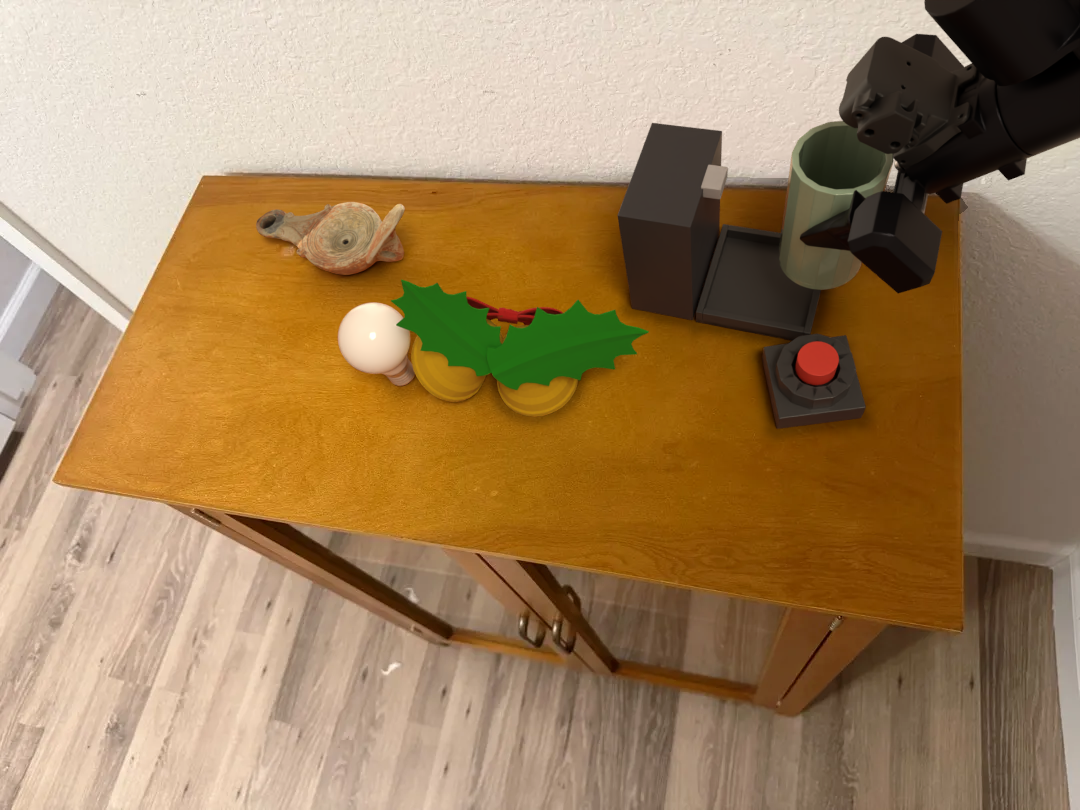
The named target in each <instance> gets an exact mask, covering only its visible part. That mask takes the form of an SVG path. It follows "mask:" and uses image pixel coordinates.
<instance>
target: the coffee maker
mask: <svg viewBox="0 0 1080 810" xmlns="http://www.w3.org/2000/svg"><path fill="white" fill-rule="evenodd" d="M722 141H723V131H722V130H719V129H718V130H717V129H708V128H700V127H691V126H683V125H675V124H666V123H657V122H651V124H650V127H649V130H648V132H647V135H646V138H645V140H644V143H643V146H642V148H641V152H640V154H639V156H638V159H637V162H636V164H635V167H634V170H633V173H632V176H631V178H630V181H629V182H628V183H629V184H628V186H627V189H626V191H625V194H624V197H623V199H622V203H621V204H620V208H619V210H618V213H617V222H618V228H619V235H620V240H621V248H622V254H623V260H624V267H625V272H626V279H627V285H628V292H629V299H630V305H631V309H632V310H637V311H644V312H649V313H653V314H659V315H664V316H669V317H673V318H679V319H683V320H684V319H685V320H688V321H689V320H690V321H694V319H695V322H696V323H701V324H705V325H711V326H715V327H720V328H725V329H731V330H736V331H741V332H746V333H752V334H755V335H756V334H757V335H761V336H766V337H771V338H777V339H782V340H787V341H793V340H794V339H796V338H797V337H798V336H805V335H811V333H812V329H813V324H814V320H815V316H816V313H817V309H818V305H819V300H820V296H821V292H822V290H817V289H810V288H806V287H803V286H800V285H798V284H796V283H795V282H793V281H792V280H791V279H789V278H788V277H787V276H786V274H785V273H784V272H783V270H782V268H781V266H780V263H779V243H780V236H781V232H777V231H772V230H771V231H770V230H764V229H758V228H753V227H752V228H750V227H745V226H739V225H732V224H725V223H723V224H722V226H721V229H720V224H721V223H720V221H721V200H722V197H723V192H724V189H725V186H726V183H727V181H728V176H729V175H728V174H729V173H728V172H729V168H728V166H722V154H723V153H722V151H723V149H722V148H723V146H722V145H723V142H722Z"/></svg>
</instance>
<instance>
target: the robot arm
mask: <svg viewBox="0 0 1080 810" xmlns="http://www.w3.org/2000/svg"><path fill="white" fill-rule="evenodd" d="M923 3H924V10H925V11H926V12H927V14H928V15H929V16H930V17H931V19H933V21H934V22H935V23H936V24H937V25H938V26H939V27H940V28H941V30H942V31H943V32H944V33H945V34H946V35H947V37H949V39H950V40H951V41H952V42H953V43H954V45H956V47H957V48H958V49H959V50H960V51H961V52H962V54H963V55H964V56H965V57H966V59H968V60H969V62H970V63H969V64H967V65H965V66H964V65H963V64H962V62H960V60H959V59H958V58H957V57H956V56H955V55H954V53H953V52H952V51H951V50H950V48H948V47H947V45H946V44H945V43H944V42H943V40H941V39H940V38H939V36H938V35H937V34H927V33H915V34H913V35H912V36H909V38H907V39H905V40H903V41H902V42H901V41H899V40H897V39H895V38H892V37H890V36H881V37H879V38H878V39H877V40H876V41H875V42H873V44H872V46H870V47H869V49H868V50H867V51H866V52H865V53H864V55H863V56H862V57H861V58H860V60H859V61H858V62H857V63H856V64H855V65H854V66H853V68H852V69H851V70H850V71H849V72H848V74H847V75H846V80H845V81H846V85H845V88H844V92H843V96H842V99H841V101H840V103H839V106H838V114H839V118H840V119H841V121H843V122H845V123H846V124H847V125H849V126H851V127H853V128H858V131H857V138H858V140H859V141H860V142H862V143H864V144H866V145H868V146H870V147H872V148H874V149H877V150H879V151H881V152H883V153H885V154H893V160H894V161H893V166H894V169H896V171H897V173H896V178H895V183H894V187H893V192H892V191H886V190H885V191H880V192H878V193H875V194H873V195H871V196H868V197H867V198H865V197H864V196H862V195H861V194H860V193H859V192H858V191H857V190H855V191H854V193H853V197H852V201H851V204H850V208H849V209H847V210H845V211H843V212H841V213H839V214H837V215H835V216H833V217H831V218H829V219H827V220H825V221H823V222H821V223H819V224H817V225H815V226H813V227H811V228H810V229H808V230H807V231H805V232H803V233H802V234H801V235H800V240H801V241H802V242H803V243H804V244H806V245H807V246H813V247H822V248H830V249H838V250H846V251H851V253H852V254H853V255H854V256H855V257H856V258H857V259H859V260H860V261H861V262H862V264H863V265H864V266H865V267H866V268H868V269H869V270H870V271H871V272H872V273H873V274H874V275H876V276H877V277H878V278H879V279H880V280H881V281H883V282H884V283H885V284H886V285H887V286H888V287H889V288H891V289H892V290H893V291H894V292H895V293H897V294H901V293H906V292H909V291H912V290H916V289H919V288H922V287H924V286H928V285H931V282H932V279H933V278H934V275H935V273H936V268H937V262H938V257H939V252H940V247H941V246H940V245H941V242H942V241H941V240H942V237H943V231H942V230H941V228H939V226H938V225H936V224H935V223H934V222H933V221H932V220H931V218H929V217H928V216H927V215H926V214H925V213H926V207H927V203H928V198H929V195H932V194H936V195H937V196H938V197H939V199H941V200H942V201H943V202H944V204H946V205H947V204H950V203H952V202H955V201H958V200H960V199H962V194H963V193H962V192H963V187H964V184H966V183H968V182H971V181H973V180H977V179H978V178H982V177H983V176H987V175H988V174H991V173H994V172H996V171H998V172H999V173H1001V175H1002V176H1003V177H1004V178H1005V180H1007V181H1008V182H1009V181H1012V180H1013V179H1016V178H1019V177H1021V176H1024V175H1025V174H1026V170H1027V169H1026V167H1027V161H1028V159H1029V158H1032V157H1035V156H1037V155H1040V154H1043V153H1044V152H1048V151H1050V150H1053V149H1055V148H1057V147H1060V146H1063V145H1065V144H1068V143H1070V142H1074V141H1076V140H1079V139H1080V0H924V2H923Z"/></svg>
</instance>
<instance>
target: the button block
mask: <svg viewBox="0 0 1080 810" xmlns="http://www.w3.org/2000/svg"><path fill="white" fill-rule="evenodd" d="M816 341H819V342H825V343H827V344H829V345H831V346H832V347H833V348H834V349H835V350H836V351H837V353H838V356H839V363H838V366H837V369H836V372H835V375H834V377H833V378H832V379H831V380H830V381H829V382H827V383H825V384H822V385H811V384H808V383H805V382H804V381H802V380H801V379H800V378H799V377H798V375H797V373H796V369H795V365H796V361H797V356H798V353H799V351H800V349H801V348H802V347H803V346H804V345H806V344H808V343H810V342H816ZM761 360H762V365H763V370H764V374H765V380H766V384H767V389H768V393H769V398H770V402H771V407H772V412H773V417H774V421H775V425H776V429H779V430H780V429H786V428H793V427H794V428H796V427H801V426H802V427H803V426H810V425H811V426H812V425H817V424H827V423H833V422H841V421H850V420H856V419H861V418H862V417H863V415H864V413H865V411H866V408H867V406H866V402H865V399H864V396H863V392H862V388H861V384H860V381H859V377H858V374H857V367H856V364H855V359H854V356H853V353H852V351H851V348H850V344H849V340H848V337H847V335H846V334H845V335H837V336H831V337H830V336H828V335H824V334H820V333H812V334H811V333H810V335H805V336H798V337H797V338H796V339H794V340H793V341H792V340H790V341H789V342H788V343H782V344H774V345H768V346H763V349H762V357H761Z"/></svg>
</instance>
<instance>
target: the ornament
mask: <svg viewBox="0 0 1080 810" xmlns="http://www.w3.org/2000/svg"><path fill="white" fill-rule="evenodd" d="M400 282H401V286H402V287H401V288H402V291H403V294H402V296H399V297H397V298H395V299H391V300H390V302H391V303H392V304H393V305H395V306H396V307H397V308H398V309H400V311H402V312H403V314H404V316H403V319H402V320H401V321H400V322H398V323H397V324H396V326H399V327H401V328H404V329H407V330H409V331H410V332H412V333H414V334H415V335H416V337H415V338H414V342H413V344H412V347H411V353H410V358H411V360H410V361H411V363H412V366H413V370H414V372H415V377H416V378H417V380H418V381H419V383H420V384H421V386H422V387H423V388H424V389H425V390H426V391H427V392H428V393H429V394H431V395H433V396H434V397H435V398H436V399H437V398H438V399H440V400H442V401H446V402H450V403H458V402H459V403H460V402H464V401H465V400H469V399H470V398H472V397H473V396H475V394H476V393H478V392H479V390H480V389H481V387H482V386H483V384H484V382H485V379H486V377H487V376H488V375H491V374H492V377H493V378H494V379H495V380H496V386H497V391H498V393H499V396H500V398H501V400H502V402H503V403H504V405H506V406H507V408H509V410H511V411H513V412H514V413H516V414H518V415H521V416H524V417H525V416H526V417H535V418H536V417H543V416H547V415H551V414H552V413H555V412H557V411H558V410H560V409H562V408H563V407H564V406H565V405H567V404H568V402H570V400H571V399H572V397H573V395H574V394H575V392H576V390H577V387H578V383H579V381H581V380H582V376H583V374H584V373H586V371H588V370H591V369H596V368H598V369H607V370H608V369H609V370H616V365H615V359H616V358H617V357H620V356H631V355H633V356H634V355H638V353H637V351H636V350H635V348H634V346H633V343H634V341H636V340H637V339H639V338H641V337H642V336H644V335H647V334H649V333H650V332H649V330H647V329H644V328H641V327H639V326H633V325H628V324H626V323H623V322H622V321H621V320H620V318H619V317H618V315H617V310H616V309H612V310H608V311H606V312H602V313H592V312H590V311H588V310H587V308H586V307H585V306H584V304H583V303H582V302H581V301H580V300H579V299H577V300H576V301H575V302H574V303H573V304H572V305H571V306H570V307H569V308H568V309H567V310H565V311H562V310H559V309H557V308H554V307H549V306H540V307H539V306H537V307H531V308H527V309H524V310H519V311H518V310H514V309H511V308H505V307H499V308H497V307H494V306H492V305H490V304H488V303H486V302H484V301H481V300H480V299H476V298H475V297H474V298H473V297H472V296H467V295H468V294H467V292H468V291H467V290H464V291H462V292H458V293H454V294H452V293H448V292H445V291H444V290H443V288H442V287H441V286H440V284H439V283H438V282H435V283H434V284H432V285H428V286H419V285H417V284H415V283H412V282H410V281H408V280H405V279H400ZM493 320H497V322H500V323H508V324H509V325H508V330H507V333H505V335H504V336H503V334H502V332H501V329H502V326H501V325H497V324H496V323H494V321H493ZM519 323H522V324H520V325H517V324H519ZM512 324H514V325H517V326H514V325H512Z"/></svg>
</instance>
